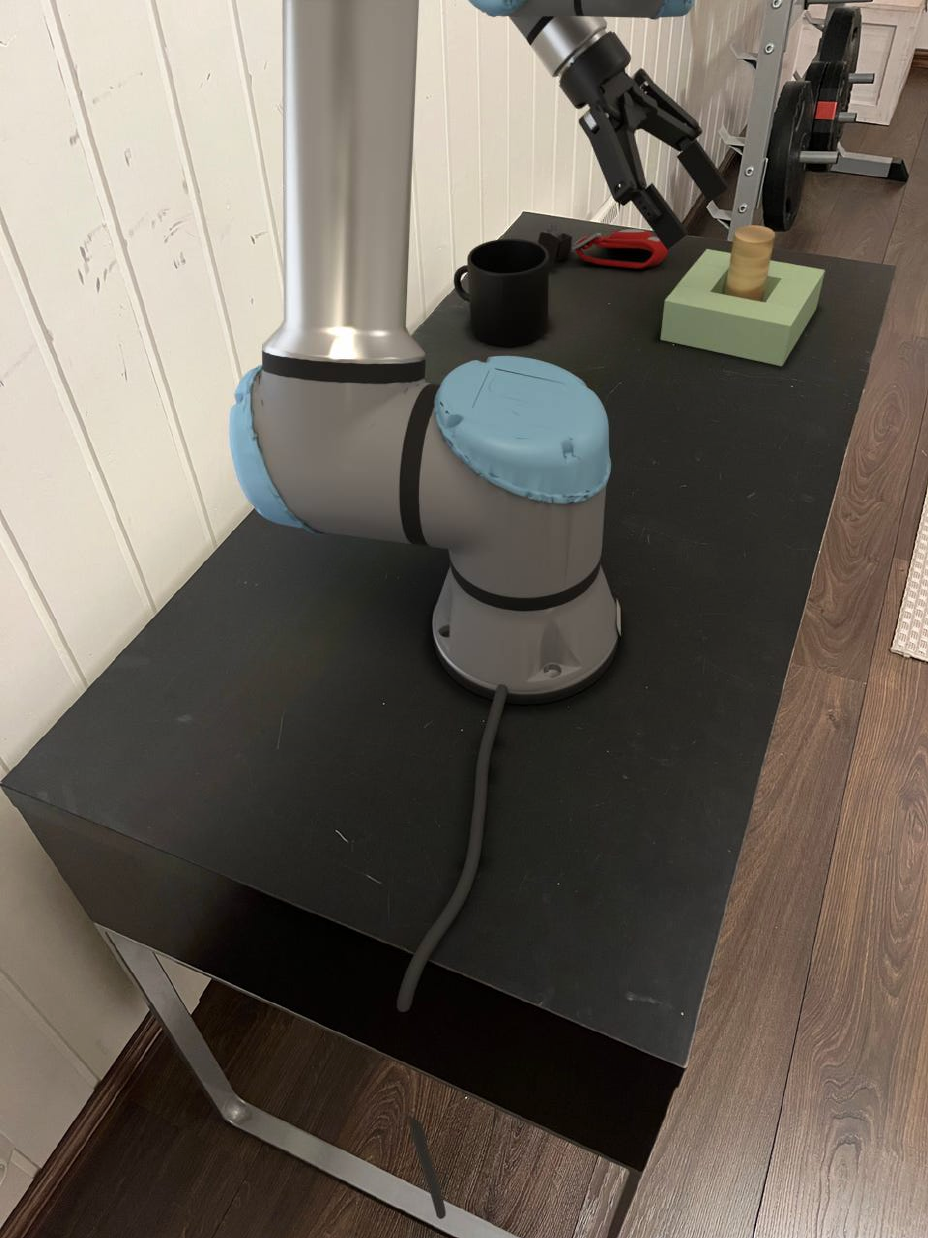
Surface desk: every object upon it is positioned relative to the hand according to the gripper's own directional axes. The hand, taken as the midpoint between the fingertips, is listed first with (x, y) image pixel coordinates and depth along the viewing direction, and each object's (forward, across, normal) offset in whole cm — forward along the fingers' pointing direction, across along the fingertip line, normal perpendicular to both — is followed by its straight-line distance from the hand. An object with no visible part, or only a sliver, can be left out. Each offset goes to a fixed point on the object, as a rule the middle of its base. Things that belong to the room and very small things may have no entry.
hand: (699, 217), depth 106 cm
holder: (+13, 0, +4) cm, 13 cm away
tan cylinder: (+13, 0, +4) cm, 13 cm away
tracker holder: (-1, +11, +18) cm, 21 cm away
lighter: (-7, +2, +22) cm, 23 cm away
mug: (-5, -12, +22) cm, 26 cm away
